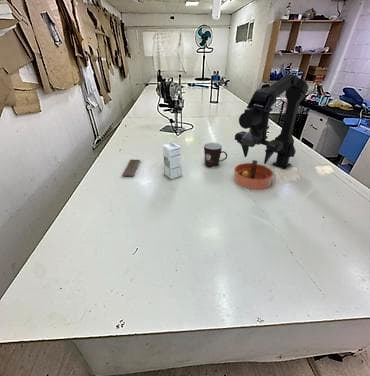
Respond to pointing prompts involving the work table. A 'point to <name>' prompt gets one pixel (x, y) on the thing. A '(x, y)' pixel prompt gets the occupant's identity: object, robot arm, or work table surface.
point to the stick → (253, 169)
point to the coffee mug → (212, 154)
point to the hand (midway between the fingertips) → (255, 160)
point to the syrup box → (172, 160)
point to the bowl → (261, 177)
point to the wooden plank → (131, 168)
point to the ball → (245, 174)
